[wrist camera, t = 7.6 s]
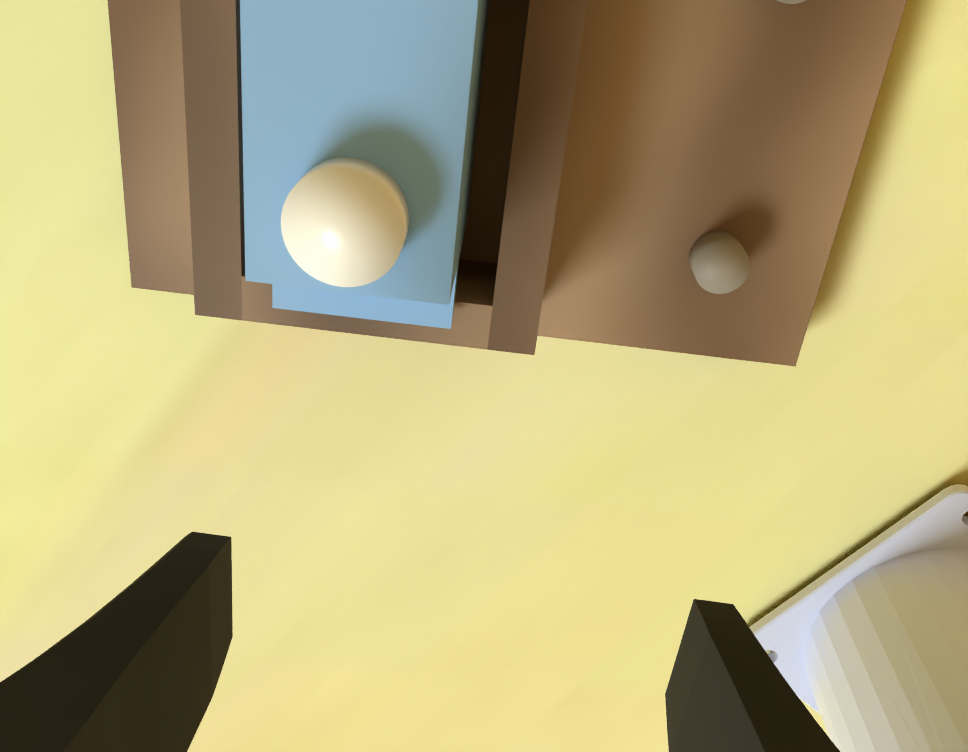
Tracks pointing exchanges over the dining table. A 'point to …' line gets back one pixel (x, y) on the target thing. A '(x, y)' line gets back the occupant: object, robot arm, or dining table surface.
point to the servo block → (360, 152)
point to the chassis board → (555, 169)
